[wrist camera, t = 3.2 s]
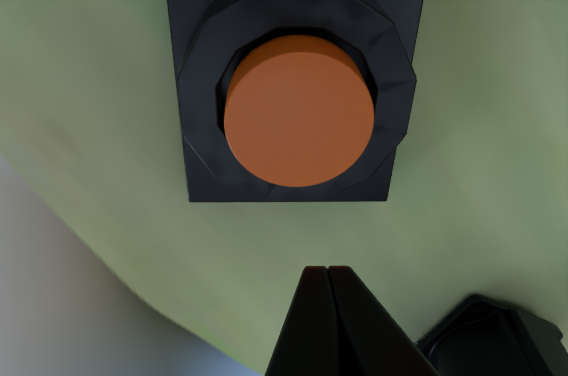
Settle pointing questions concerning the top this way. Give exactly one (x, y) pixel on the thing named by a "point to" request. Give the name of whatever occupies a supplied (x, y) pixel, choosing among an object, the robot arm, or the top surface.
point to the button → (298, 111)
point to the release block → (269, 25)
